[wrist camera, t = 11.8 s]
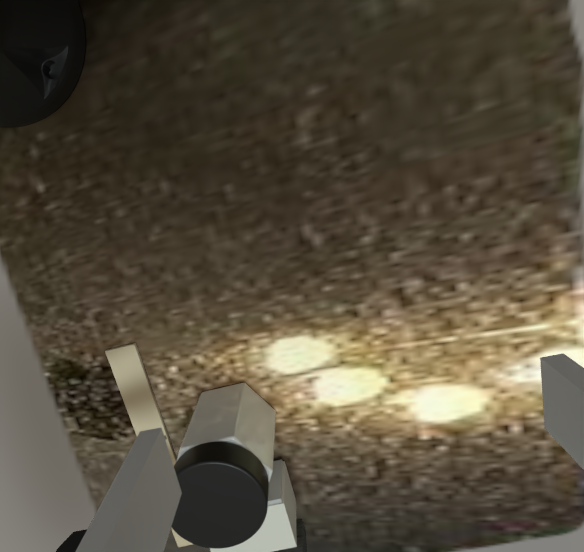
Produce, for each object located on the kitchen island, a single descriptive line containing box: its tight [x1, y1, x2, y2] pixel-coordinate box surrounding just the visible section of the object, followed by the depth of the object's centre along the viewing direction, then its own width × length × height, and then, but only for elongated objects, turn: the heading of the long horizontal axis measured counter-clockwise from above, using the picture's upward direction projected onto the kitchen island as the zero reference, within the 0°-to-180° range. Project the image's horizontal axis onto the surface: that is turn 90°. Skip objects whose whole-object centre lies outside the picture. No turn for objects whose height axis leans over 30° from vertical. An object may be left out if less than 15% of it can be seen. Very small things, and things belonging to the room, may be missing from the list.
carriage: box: [210, 459, 297, 552], centre depth 45 cm, size 5×13×6 cm, turn 104°
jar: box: [171, 383, 276, 549], centre depth 40 cm, size 9×8×12 cm
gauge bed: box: [105, 343, 192, 547], centre depth 47 cm, size 24×3×1 cm, turn 14°
